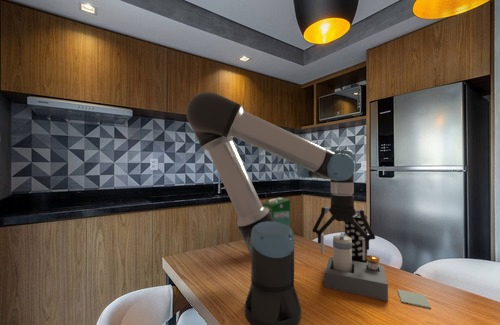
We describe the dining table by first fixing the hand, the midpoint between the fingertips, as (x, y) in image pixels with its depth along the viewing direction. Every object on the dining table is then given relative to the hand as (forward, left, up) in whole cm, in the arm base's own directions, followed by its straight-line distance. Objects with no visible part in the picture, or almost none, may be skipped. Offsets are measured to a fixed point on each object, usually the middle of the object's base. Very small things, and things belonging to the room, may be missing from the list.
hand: (342, 255), depth 81 cm
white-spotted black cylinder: (+16, -4, -9) cm, 19 cm away
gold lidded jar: (+3, -9, -7) cm, 12 cm away
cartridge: (0, 0, -9) cm, 9 cm away
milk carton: (+14, +29, -9) cm, 33 cm away
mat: (-3, -20, -9) cm, 22 cm away
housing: (0, -4, -9) cm, 10 cm away
